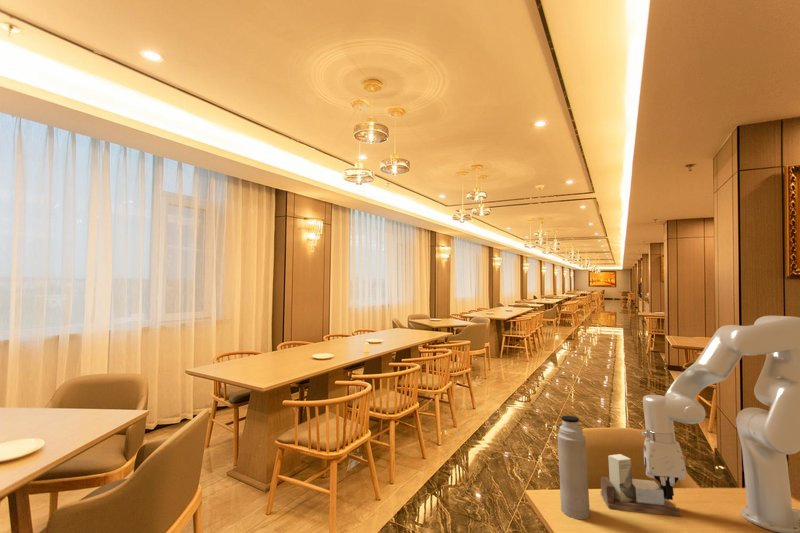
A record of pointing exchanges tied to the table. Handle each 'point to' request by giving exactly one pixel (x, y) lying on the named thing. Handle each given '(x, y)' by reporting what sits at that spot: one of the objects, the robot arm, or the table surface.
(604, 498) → the clamp board
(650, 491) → the block
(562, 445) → the thermos bottle
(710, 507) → the table surface
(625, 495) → the box
